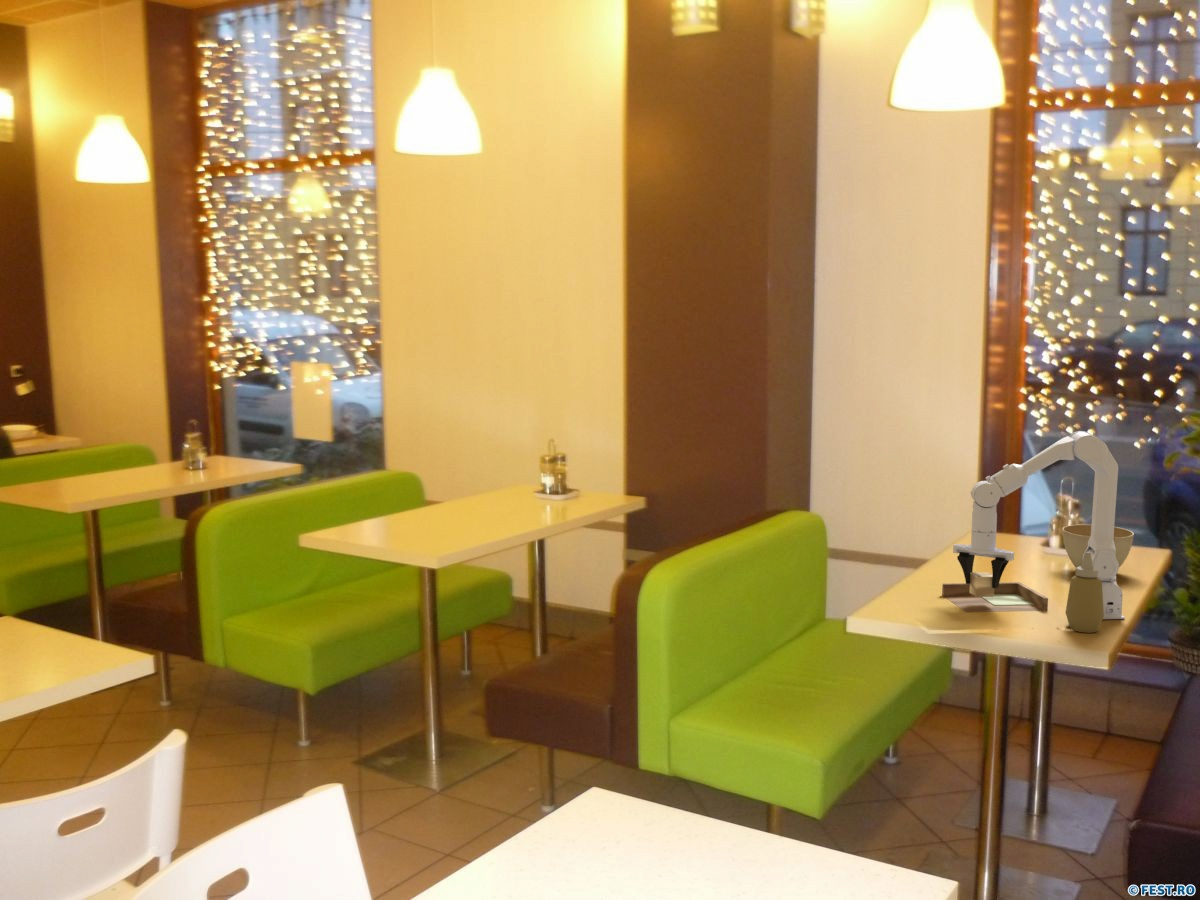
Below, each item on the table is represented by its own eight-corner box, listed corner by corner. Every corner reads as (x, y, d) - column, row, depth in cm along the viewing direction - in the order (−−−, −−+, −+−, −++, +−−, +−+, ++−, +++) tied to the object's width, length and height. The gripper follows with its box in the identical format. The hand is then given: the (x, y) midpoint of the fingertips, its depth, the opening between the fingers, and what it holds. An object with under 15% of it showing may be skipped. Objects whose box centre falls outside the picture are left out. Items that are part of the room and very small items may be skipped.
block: (993, 596, 275) (994, 575, 274) (975, 596, 275) (976, 576, 274) (987, 592, 279) (988, 572, 278) (969, 592, 279) (970, 572, 278)
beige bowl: (1046, 569, 318) (1048, 527, 317) (1096, 564, 324) (1099, 522, 323) (1094, 583, 301) (1096, 539, 300) (1146, 578, 307) (1149, 534, 306)
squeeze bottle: (1064, 623, 264) (1068, 547, 261) (1102, 627, 261) (1106, 550, 258) (1064, 632, 256) (1068, 554, 254) (1103, 636, 253) (1107, 557, 251)
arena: (1047, 613, 272) (1048, 598, 272) (966, 615, 271) (966, 599, 270) (1018, 596, 288) (1019, 582, 288) (942, 598, 287) (942, 583, 286)
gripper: (1019, 531, 273) (1017, 586, 275) (962, 524, 283) (960, 577, 284) (1008, 536, 268) (1006, 592, 269) (950, 529, 277) (948, 583, 279)
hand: (982, 585), depth 276 cm, fingers closed on block, 6 cm apart
